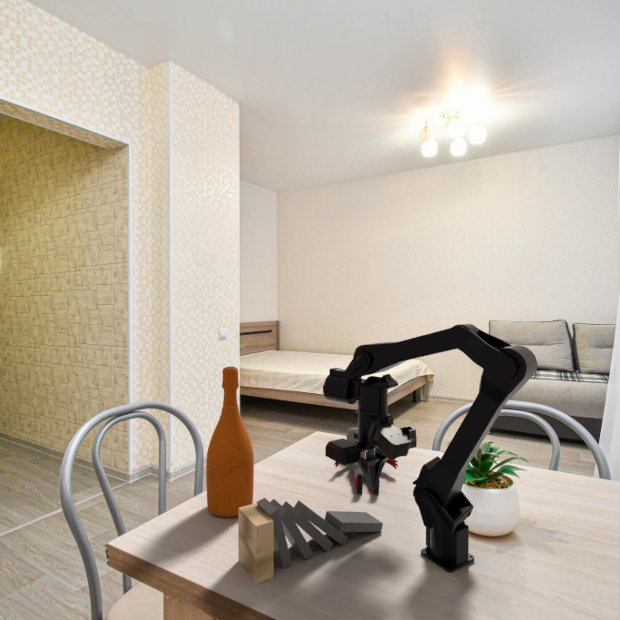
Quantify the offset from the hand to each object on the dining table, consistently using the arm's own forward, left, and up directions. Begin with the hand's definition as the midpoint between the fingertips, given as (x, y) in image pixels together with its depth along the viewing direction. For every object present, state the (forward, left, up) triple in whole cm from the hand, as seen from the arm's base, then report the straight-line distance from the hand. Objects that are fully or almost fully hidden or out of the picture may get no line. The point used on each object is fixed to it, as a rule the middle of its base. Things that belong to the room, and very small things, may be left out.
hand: (372, 488), depth 83 cm
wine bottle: (+22, +21, -8) cm, 31 cm away
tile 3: (0, +12, -7) cm, 13 cm away
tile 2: (0, +8, -7) cm, 11 cm away
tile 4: (0, +16, -7) cm, 17 cm away
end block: (0, +25, -8) cm, 26 cm away
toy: (+23, -17, -8) cm, 30 cm away
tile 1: (0, 0, -7) cm, 7 cm away
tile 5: (0, +20, -7) cm, 21 cm away
